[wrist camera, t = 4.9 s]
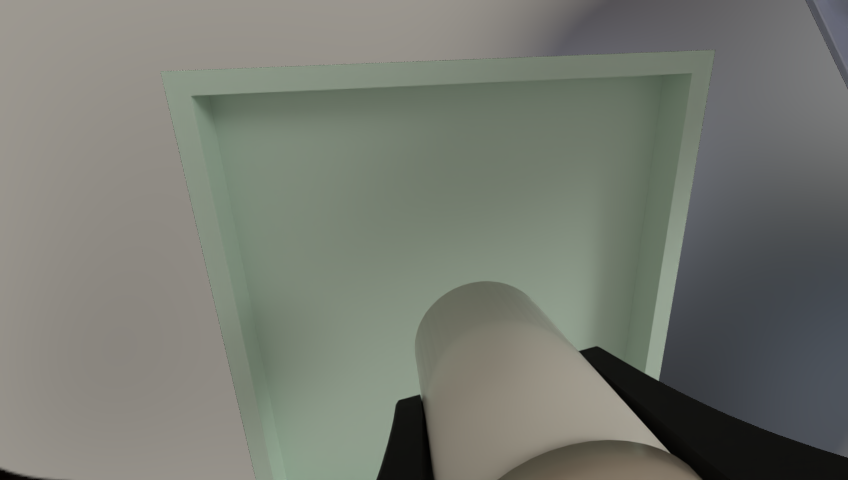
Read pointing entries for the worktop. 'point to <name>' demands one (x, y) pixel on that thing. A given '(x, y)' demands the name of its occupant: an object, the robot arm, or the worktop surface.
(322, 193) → the tray
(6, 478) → the worktop surface
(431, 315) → the spice pot
